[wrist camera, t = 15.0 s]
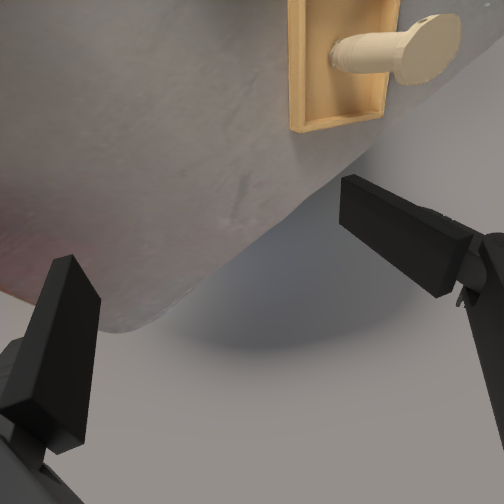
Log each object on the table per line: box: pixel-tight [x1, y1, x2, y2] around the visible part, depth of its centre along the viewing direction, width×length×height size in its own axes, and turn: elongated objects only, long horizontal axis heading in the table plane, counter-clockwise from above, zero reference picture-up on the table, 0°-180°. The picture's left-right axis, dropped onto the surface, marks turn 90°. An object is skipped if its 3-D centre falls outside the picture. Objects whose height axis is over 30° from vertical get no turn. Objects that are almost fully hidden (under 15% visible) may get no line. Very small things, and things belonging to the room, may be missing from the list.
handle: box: [328, 14, 461, 85], centre depth 32 cm, size 5×6×15 cm
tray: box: [287, 0, 401, 133], centre depth 37 cm, size 17×14×3 cm
